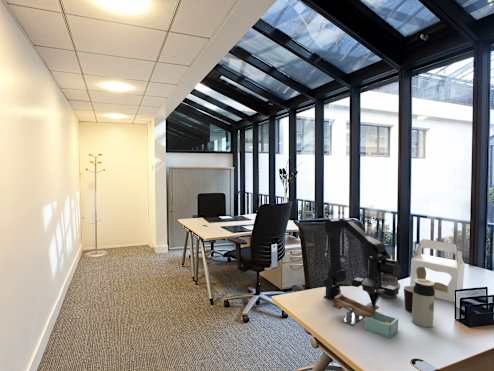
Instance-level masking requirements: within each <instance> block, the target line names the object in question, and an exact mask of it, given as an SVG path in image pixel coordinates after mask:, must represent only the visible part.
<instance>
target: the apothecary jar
mask: <svg viewBox="0 0 494 371" xmlns="http://www.w3.org/2000/svg"><path fill="white" fill-rule="evenodd" d="M382 282H383V284H382V286H384V287H387V286H389V285H390V286H394V287H397V288H398V290H401V284H400V282H399V276H398V277H393V276H389V275H386V274H383V275H382ZM397 295H398V294H397ZM397 295H396V296H395V297H391V296H388V295H386V294H385V293H383V294H381V295H380V297H379V298H383V299H388V300H396V299H398V296H397Z"/></svg>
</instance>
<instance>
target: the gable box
mask: <svg viewBox="0 0 494 371" xmlns="http://www.w3.org/2000/svg"><path fill="white" fill-rule="evenodd" d="M457 247H458V246H457V244H455V243H451V242H445V241H440V240H439V241H437V240H431V239H424V238H423V239H421V241H420V243H416V245H415V251H414V254H413V255H412V257H411V261H410V262H411V263H410V280H409V286H415V281H414V280H415V279H426V278H427V277H426V276H427V271H426V269H427V270H431V271H434V272H438V273H445V274H448V275H450V277H451V279H450V280H449V282H448V284H444V283H441V282H437V281H436V282H434V281H433V282H434V286H433V288H434V290H435V296H434V298H437V299H440V300H443V301H447V302H451V303H455V302H454V291H455V290H458V289H463V290H464V279H465V278H464V276H465V262H464V260H463V251H462V250H458V248H457ZM422 249H431V250H436V251H441V252H447V253H452V254H454V255H455V257H454V258H455V259H450V258H445V257H444V258H443V257H439V256H435V255H434V256H433V255H429V254H424V253H423V250H422ZM426 280H427V279H426Z"/></svg>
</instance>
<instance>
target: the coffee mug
mask: <svg viewBox="0 0 494 371" xmlns="http://www.w3.org/2000/svg"><path fill="white" fill-rule="evenodd" d="M413 287H414V286H410V285H406V286H403V294H404V295H403V297H404V308H405V311H406V312H408V313H411V314H412V304H413Z"/></svg>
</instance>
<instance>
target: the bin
mask: <svg viewBox="0 0 494 371" xmlns="http://www.w3.org/2000/svg"><path fill="white" fill-rule="evenodd" d="M385 322H389V323H390V324H387V323H385ZM364 330H366V331H369V332H372V333H375V334H377V335H379V336H382V337H385V338H388V339H391V338H392V337H393V336H394V335H396V333H397V332H398V330H399V318H397V317H394V316H391V315H388V314H386V313H382V312H379V311H377V310H376V311H375V315H374V316H373V317H372V318H369V317H365V318H364Z"/></svg>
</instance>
